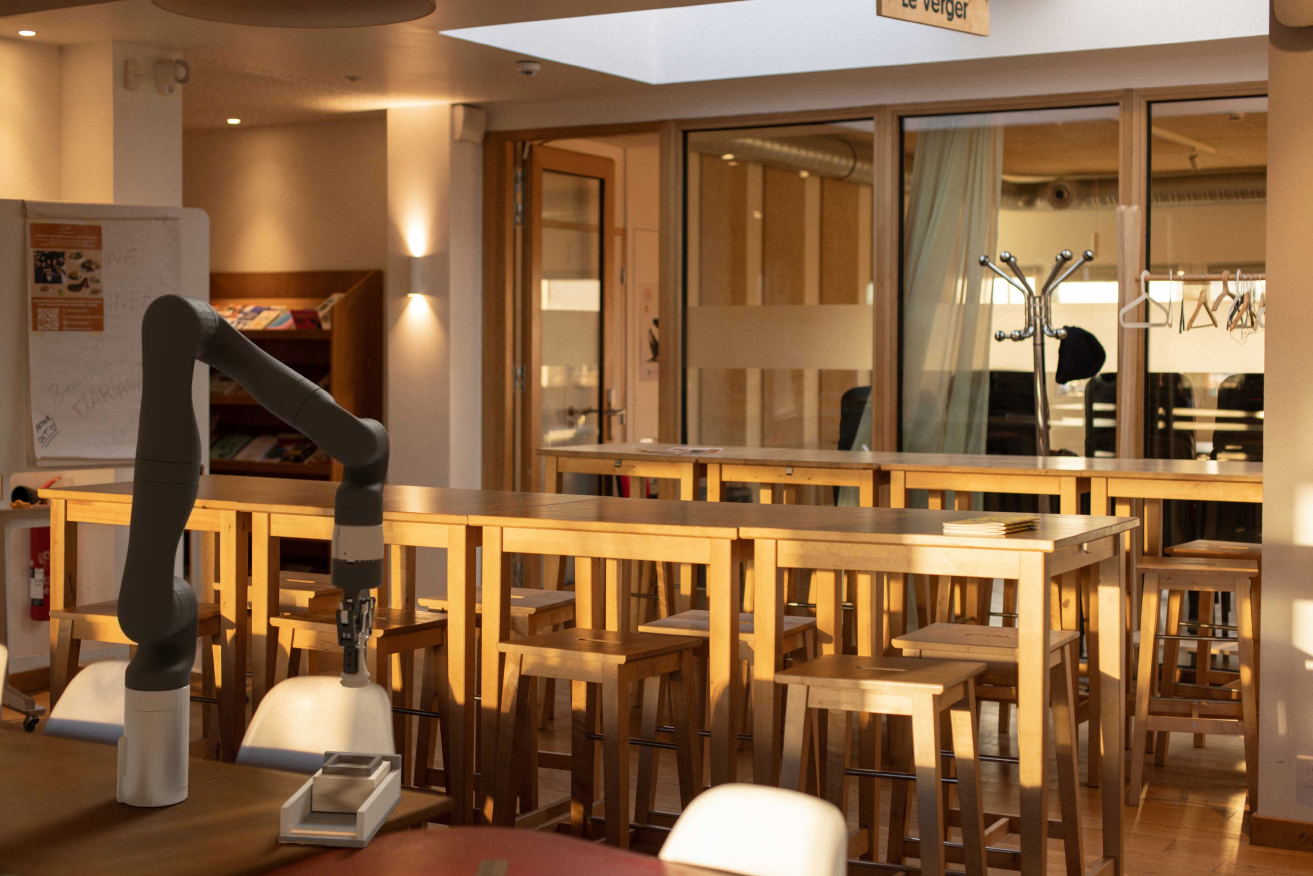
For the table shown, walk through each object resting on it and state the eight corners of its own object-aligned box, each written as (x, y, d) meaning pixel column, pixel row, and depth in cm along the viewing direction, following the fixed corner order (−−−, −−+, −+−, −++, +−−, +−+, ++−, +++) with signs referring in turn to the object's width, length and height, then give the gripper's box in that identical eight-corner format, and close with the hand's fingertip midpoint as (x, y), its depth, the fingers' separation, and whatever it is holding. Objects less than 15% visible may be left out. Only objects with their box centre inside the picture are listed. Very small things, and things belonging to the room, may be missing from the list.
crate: (312, 810, 207) (313, 768, 207) (331, 790, 217) (332, 750, 217) (373, 813, 207) (374, 771, 207) (389, 793, 217) (390, 753, 217)
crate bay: (278, 843, 197) (279, 792, 197) (323, 796, 219) (324, 750, 219) (364, 847, 196) (366, 797, 196) (401, 800, 218) (402, 754, 218)
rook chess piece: (362, 689, 209) (364, 634, 208) (334, 686, 210) (335, 632, 209) (375, 683, 213) (376, 629, 213) (347, 680, 214) (348, 627, 214)
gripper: (345, 547, 218) (342, 660, 218) (318, 559, 204) (315, 679, 204) (394, 549, 217) (391, 662, 218) (370, 561, 203) (367, 682, 204)
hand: (354, 670), depth 211 cm, fingers closed on rook chess piece, 3 cm apart
